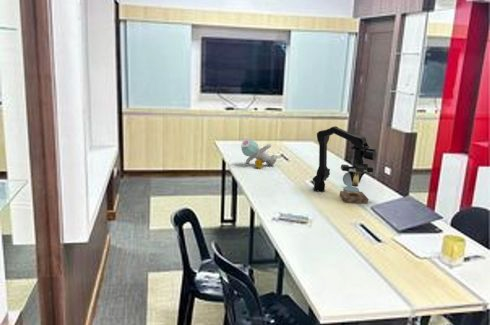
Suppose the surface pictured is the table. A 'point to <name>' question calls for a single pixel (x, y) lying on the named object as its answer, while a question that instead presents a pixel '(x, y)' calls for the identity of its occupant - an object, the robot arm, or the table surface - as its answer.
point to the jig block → (353, 197)
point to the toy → (257, 153)
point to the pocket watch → (348, 183)
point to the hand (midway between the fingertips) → (355, 181)
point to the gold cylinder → (355, 178)
